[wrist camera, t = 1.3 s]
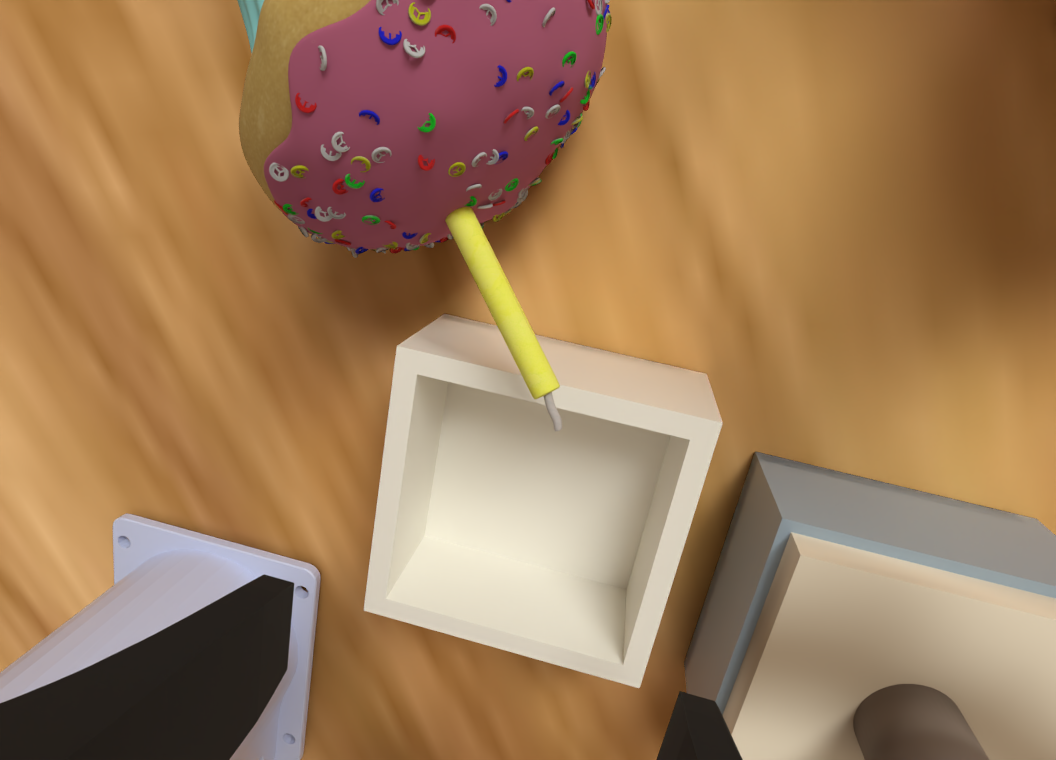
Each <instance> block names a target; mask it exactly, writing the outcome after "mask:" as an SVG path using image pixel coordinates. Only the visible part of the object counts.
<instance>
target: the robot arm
mask: <svg viewBox="0 0 1056 760" xmlns="http://www.w3.org/2000/svg"><path fill="white" fill-rule="evenodd" d="M127 538H128V539H129V540H130V541H129V540H128V539H127ZM113 554H114V586H112V587H111V588H110V589H108V590H107V591H106V592H105V593H103V594H102V595H101V596H99V597H98V598H97V599H95V600H94V601H93V602H92V603H90V604H89V605H88V606H86V607H85V608H84V609H82V610H81V611H80V612H78V613H77V614H76V615H75V616H73V617H72V618H71V619H69V620H68V621H67V622H65V623H64V624H63V625H62V626H60V627H59V628H58V629H56V630H55V631H54V632H52V633H51V634H50V635H48V636H47V637H46V638H45V639H43V640H42V641H41V642H39V643H38V644H37V645H35V646H34V647H33V648H32V649H30V650H29V651H28V652H26V653H25V654H24V655H22V656H21V657H20V658H18V659H17V660H16V661H15V662H13V663H12V664H11V665H9V666H8V667H7V668H5V669H4V670H3V671H2V672H0V760H301V758H302V756H303V754H304V744H305V733H306V723H307V713H308V702H309V692H310V682H311V672H312V661H313V651H314V641H315V630H316V620H317V610H318V600H319V589H320V579H321V578H320V573H319V571H318V569H317V568H316V567H315V566H313V565H311V564H309V563H306V562H302V561H299V560H295V559H291V558H288V557H284V556H281V555H277V554H273V553H270V552H266V551H263V550H259V549H255V548H252V547H248V546H244V545H241V544H237V543H234V542H230V541H226V540H223V539H219V538H216V537H212V536H208V535H205V534H201V533H198V532H194V531H190V530H187V529H183V528H180V527H176V526H172V525H169V524H165V523H161V522H158V521H154V520H151V519H147V518H143V517H140V516H136V515H133V514H124V515H122V516H120V517H119V518H117V519H116V520H115V521H114V522H113ZM301 586H303V587H305V588H306V589H307V590H308V592H306V591H304V590H303V589H302V588H301ZM657 760H743V759H742V757H741V755H740V753H739V751H738V749H737V746H736V744H735V742H734V740H733V738H732V735H731V733H730V731H729V729H728V727H727V724H726V722H725V720H724V718H723V715H722V713H721V711H720V709H719V707H718V705H717V704H716V702H715V701H713V700H709V699H706V698H702V697H699V696H695V695H692V694H688V693H685V692H681V691H680V692H679V695H678V698H677V701H676V704H675V707H674V710H673V713H672V716H671V719H670V722H669V725H668V728H667V731H666V734H665V737H664V739H663V742H662V745H661V748H660V751H659V754H658V757H657Z"/></svg>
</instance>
